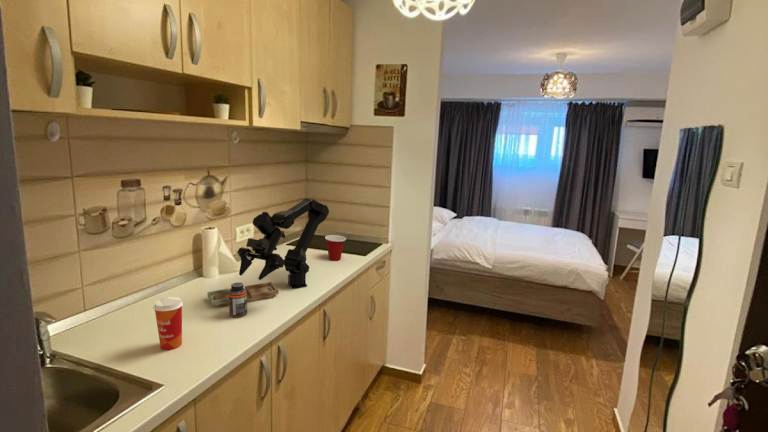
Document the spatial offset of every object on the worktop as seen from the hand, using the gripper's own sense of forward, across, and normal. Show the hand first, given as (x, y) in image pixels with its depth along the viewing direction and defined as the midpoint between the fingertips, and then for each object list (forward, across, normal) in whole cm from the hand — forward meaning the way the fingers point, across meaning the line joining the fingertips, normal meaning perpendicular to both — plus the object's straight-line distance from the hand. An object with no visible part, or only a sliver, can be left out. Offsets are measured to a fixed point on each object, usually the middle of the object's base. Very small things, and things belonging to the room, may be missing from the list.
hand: (249, 277), depth 145 cm
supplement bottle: (+13, 0, +5) cm, 14 cm away
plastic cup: (-39, -6, +56) cm, 69 cm away
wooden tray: (+4, -10, +13) cm, 17 cm away
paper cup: (+31, -1, -13) cm, 34 cm away
